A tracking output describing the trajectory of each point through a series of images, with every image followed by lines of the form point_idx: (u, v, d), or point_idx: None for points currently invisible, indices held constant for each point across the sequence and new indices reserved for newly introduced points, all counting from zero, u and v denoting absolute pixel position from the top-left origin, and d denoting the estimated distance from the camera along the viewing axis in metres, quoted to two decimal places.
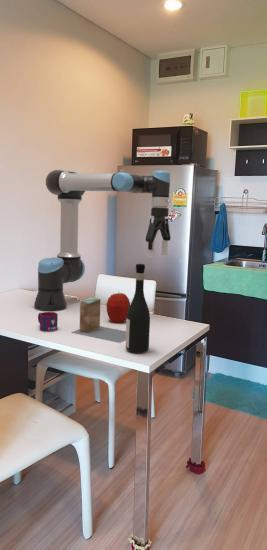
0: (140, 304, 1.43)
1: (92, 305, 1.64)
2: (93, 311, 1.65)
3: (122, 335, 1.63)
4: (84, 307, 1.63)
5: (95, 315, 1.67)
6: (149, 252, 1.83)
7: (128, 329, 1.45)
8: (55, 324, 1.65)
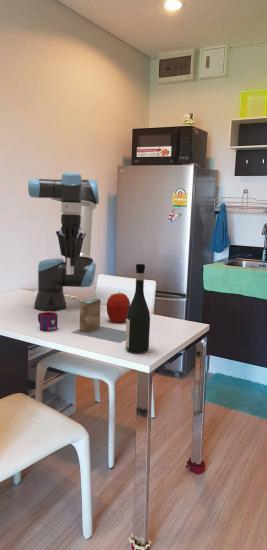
0: (140, 304, 1.43)
1: (92, 305, 1.64)
2: (93, 311, 1.65)
3: (122, 335, 1.63)
4: (84, 307, 1.63)
5: (95, 315, 1.67)
6: None
7: (128, 329, 1.45)
8: (55, 324, 1.65)
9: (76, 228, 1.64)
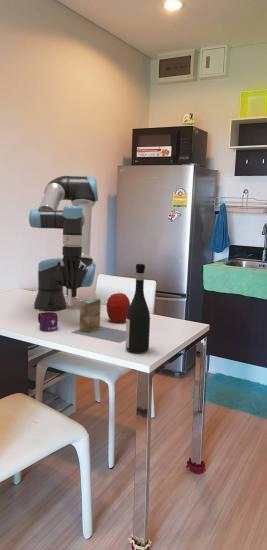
0: (140, 304, 1.43)
1: (92, 305, 1.64)
2: (93, 311, 1.65)
3: (122, 335, 1.63)
4: (84, 307, 1.63)
5: (95, 315, 1.67)
6: None
7: (128, 329, 1.45)
8: (55, 324, 1.65)
9: (77, 260, 1.66)
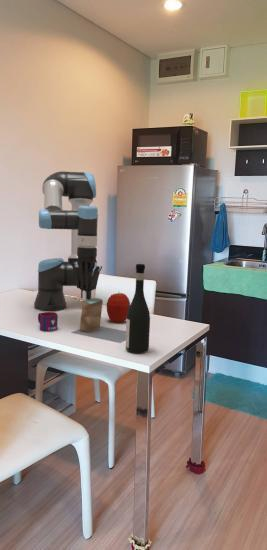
0: (140, 304, 1.43)
1: (94, 306, 1.64)
2: (94, 311, 1.65)
3: (122, 335, 1.63)
4: (86, 307, 1.63)
5: (96, 315, 1.67)
6: None
7: (128, 329, 1.45)
8: (55, 324, 1.65)
9: (92, 261, 1.62)
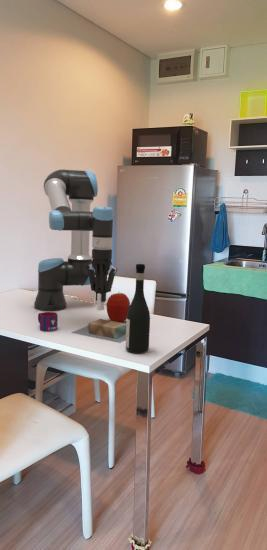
0: (140, 304, 1.43)
1: None
2: None
3: (122, 335, 1.63)
4: (110, 332, 1.59)
5: None
6: None
7: (128, 329, 1.45)
8: (55, 324, 1.65)
9: (108, 263, 1.59)
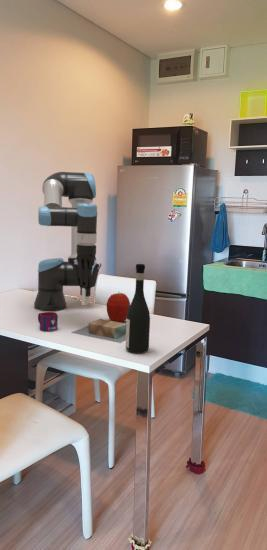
0: (140, 304, 1.43)
1: None
2: None
3: (122, 335, 1.63)
4: (110, 332, 1.59)
5: None
6: None
7: (128, 329, 1.45)
8: (55, 324, 1.65)
9: (92, 259, 1.63)
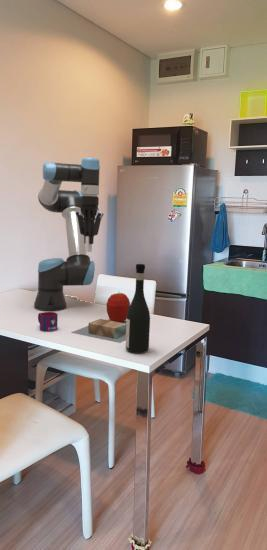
0: (140, 304, 1.43)
1: None
2: None
3: (122, 335, 1.63)
4: (110, 332, 1.59)
5: None
6: None
7: (128, 329, 1.45)
8: (55, 324, 1.65)
9: (94, 209, 1.79)
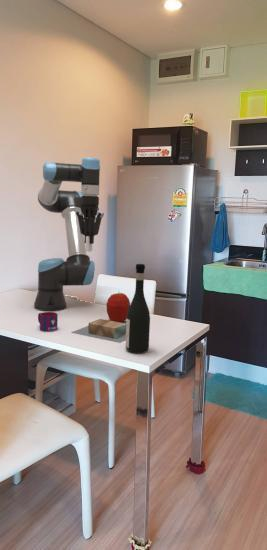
0: (140, 304, 1.43)
1: None
2: None
3: (122, 335, 1.63)
4: (110, 332, 1.59)
5: None
6: None
7: (128, 329, 1.45)
8: (55, 324, 1.65)
9: (95, 208, 1.80)
